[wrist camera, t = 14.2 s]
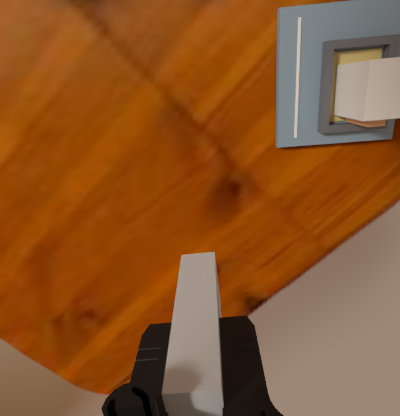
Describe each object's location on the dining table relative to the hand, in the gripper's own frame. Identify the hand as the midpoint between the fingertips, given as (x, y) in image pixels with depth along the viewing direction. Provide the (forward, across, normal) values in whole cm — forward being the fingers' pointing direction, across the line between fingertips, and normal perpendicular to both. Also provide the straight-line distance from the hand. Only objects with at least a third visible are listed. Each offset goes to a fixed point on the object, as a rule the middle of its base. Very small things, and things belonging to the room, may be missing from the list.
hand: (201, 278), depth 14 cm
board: (+25, +16, +7) cm, 30 cm away
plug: (+24, +17, +6) cm, 30 cm away
